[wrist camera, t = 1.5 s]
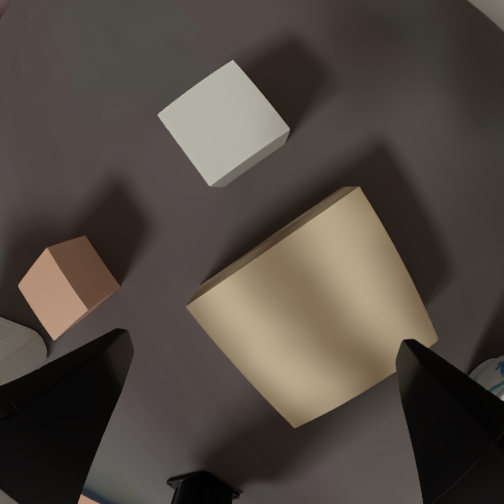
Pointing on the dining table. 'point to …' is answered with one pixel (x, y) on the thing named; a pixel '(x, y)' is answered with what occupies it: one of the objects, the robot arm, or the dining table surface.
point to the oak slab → (316, 308)
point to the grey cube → (225, 125)
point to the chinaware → (491, 376)
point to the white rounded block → (19, 351)
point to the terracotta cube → (67, 284)
